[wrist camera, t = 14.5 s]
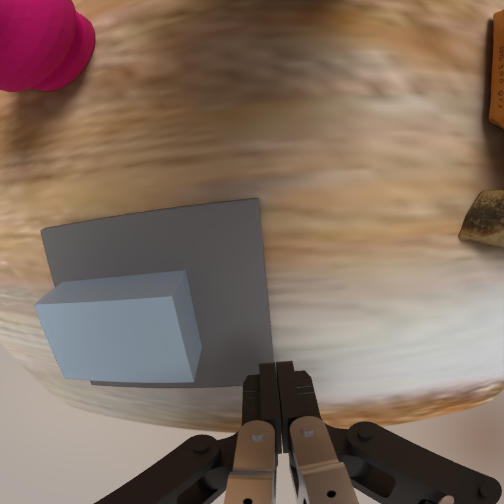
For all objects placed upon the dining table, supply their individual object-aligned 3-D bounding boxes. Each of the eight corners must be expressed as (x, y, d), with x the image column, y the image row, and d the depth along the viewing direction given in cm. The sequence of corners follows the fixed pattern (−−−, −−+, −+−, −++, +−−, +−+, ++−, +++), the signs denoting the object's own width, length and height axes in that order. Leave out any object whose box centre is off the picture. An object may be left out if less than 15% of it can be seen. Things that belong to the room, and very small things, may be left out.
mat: (44, 228, 20) (40, 230, 20) (258, 197, 20) (258, 199, 19) (94, 380, 24) (91, 384, 24) (275, 378, 24) (275, 382, 23)
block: (185, 270, 20) (62, 281, 21) (172, 296, 17) (34, 304, 17) (202, 347, 22) (85, 349, 23) (193, 382, 18) (64, 378, 19)
